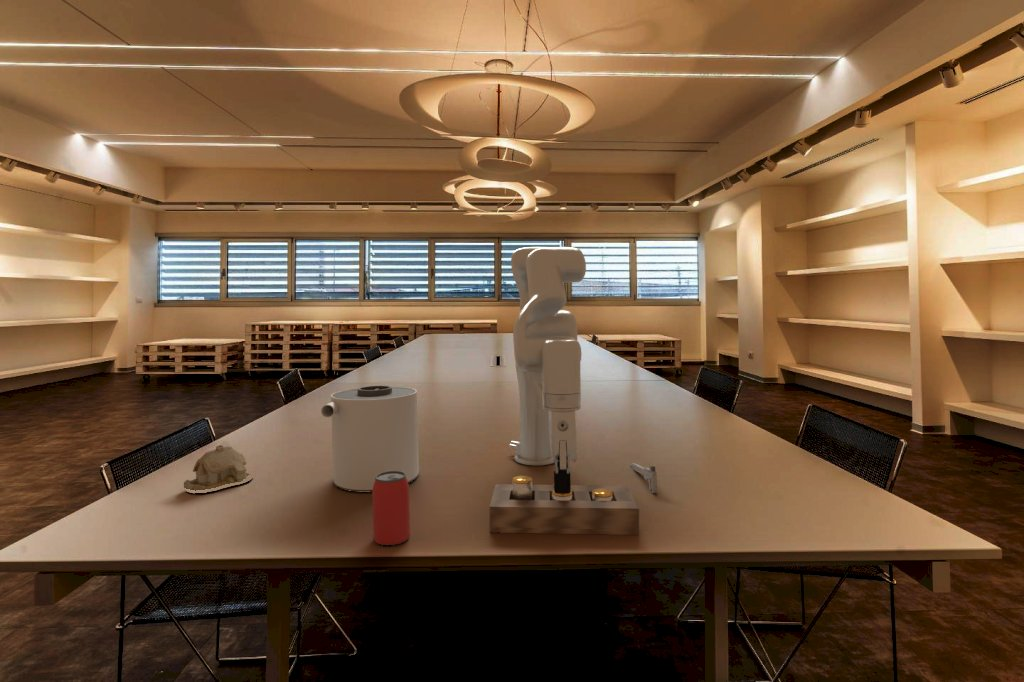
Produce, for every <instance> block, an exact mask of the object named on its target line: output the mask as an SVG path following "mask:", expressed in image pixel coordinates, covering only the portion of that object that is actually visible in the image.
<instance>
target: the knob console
mask: <svg viewBox="0 0 1024 682" xmlns="http://www.w3.org/2000/svg"><path fill="white" fill-rule="evenodd" d="M570 487H571V491H572V501H568V500H552V490H554V484H532V500H513V490H512V484H511V483H508V484H507V483H506V484H504V483H502V484H501V483H500V484H499V483H498V484H497V483H495V486H494V489H493V493H492V497H491V500H490V503H489V533H497V532H500V533H501V534H502V533H503V534H505V533H506V534H508V533H509V534H561V535H562V534H564V535H565V534H567V535H568V534H569V535H577V534H578V535H622V536H623V535H624V536H625V535H628V536H639V535H640V508H639V506H638V504H637V502H636V499H635V497H634V496H633V494H632V492H631V490H630V488H629V486H628V485H611V484H610V485H609V484H607V485H603V484H601V485H599V484H598V485H597V484H596V485H595V484H594V485H593V484H591V485H589V484H570ZM595 489H607V490H610V491H612V501H592V491H593V490H595ZM497 534H498V533H497Z"/></svg>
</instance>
